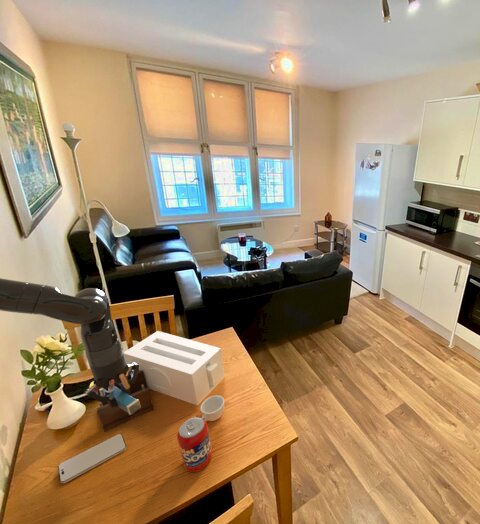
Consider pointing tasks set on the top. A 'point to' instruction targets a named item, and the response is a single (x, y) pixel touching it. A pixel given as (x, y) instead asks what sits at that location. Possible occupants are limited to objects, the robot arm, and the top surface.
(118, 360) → the robot arm
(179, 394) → the toaster
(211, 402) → the teacup
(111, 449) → the smartphone
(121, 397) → the peg
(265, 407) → the top surface
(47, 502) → the top surface
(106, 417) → the rack
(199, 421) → the soda can
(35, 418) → the top surface
